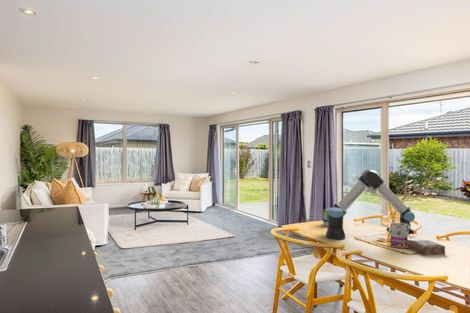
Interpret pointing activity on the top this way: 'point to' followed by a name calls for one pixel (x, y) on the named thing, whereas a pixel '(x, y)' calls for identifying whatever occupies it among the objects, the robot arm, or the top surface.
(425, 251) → the walnut base
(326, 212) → the tea box
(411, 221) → the robot arm
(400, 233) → the candy bar box
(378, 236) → the top surface
